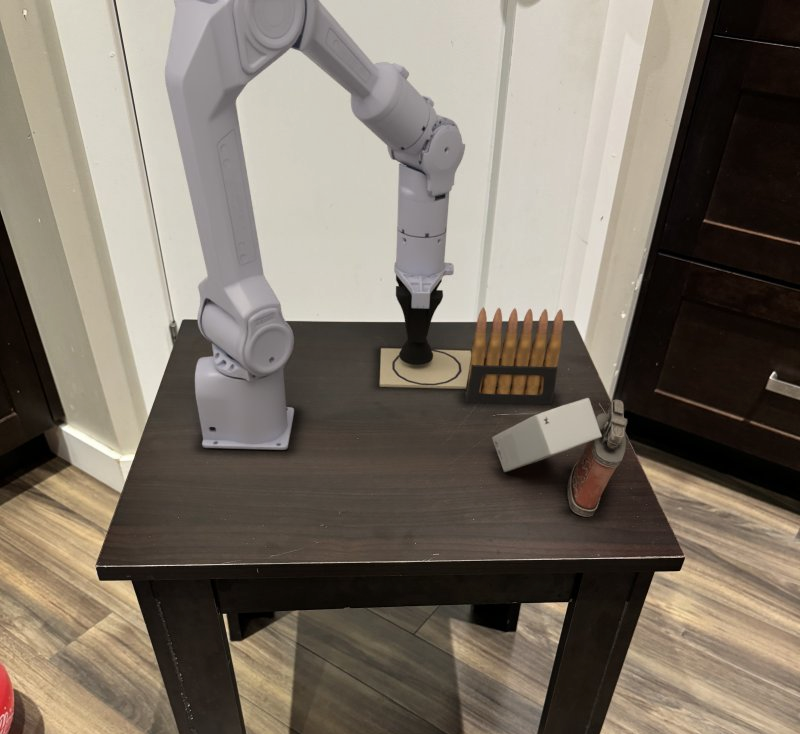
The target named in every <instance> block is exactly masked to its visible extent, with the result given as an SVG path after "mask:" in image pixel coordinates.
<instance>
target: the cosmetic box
mask: <svg viewBox="0 0 800 734" xmlns="http://www.w3.org/2000/svg"><path fill="white" fill-rule="evenodd" d="M596 418H597V416H596V413H595V411H594V408H593V406H592V403H591V400H590V398H589V397H585V398H582V399H579V400H576V401H572V402H570V403H566V404H562V405H560V406H557V407H554V408H551V409H549V410H546V411H542V412H540V413H537V414H535V415H532V416H530V417H528V418H526V419H525V420H523V421H521V422H519V423H517V424H515V425H513V426H511V427H509V428H507V429H505V430H503V431H500V432H499V433H498V434H496V435H493V436H492V437H491V439H492V443H493V445H494V447H495V450H496V454H497V456H498V458H499V462H500V465H501V467H502V470H503V472H504V473H507V472H511V471H514V470H516V469H520V468H522V467H525V466H528V465H531V464H534V463H537V462H540V461H542V460H545V459H548V458H551V457H554V456H556V455H559V454H561V453H564V452H567V451H569V450H572V449H575V448H577V447H579V446H582V445H585V444H587V442H590V441H593V440H595V439H598V438H600V437H602V435H601V432H600V429H599V427H598V423H597V420H596Z"/></svg>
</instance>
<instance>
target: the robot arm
mask: <svg viewBox="0 0 800 734" xmlns="http://www.w3.org/2000/svg"><path fill="white" fill-rule="evenodd" d="M173 2H174V7H175V11H174V16H173V22H172V27H171V32H170V39H169V44H168V50H167V56H166V61H165V68H164V81H165V87H166V91H167V96H168V101H169V104H170V110H171V114H172V120H173V122H174V129H175V134H176V138H177V142H178V147H179V151H180V157H181V160H182V165H183V170H184V174H185V178H186V183H187V188H188V193H189V198H190V201H191V206H192V210H193V215H194V219H195V224H196V228H197V233H198V237H199V242H200V247H201V252H202V256H203V260H204V265H205V269H206V274H207V276H206V277H205V278H203V280H201V281H200V283H198V285H197V289H198V294H199V307H198V311H197V327H198V329H199V332H200V333H201V334H202V336H203V337H204V338H205V339H206V340H207V341H209V342H210V343H211V346H212V347H211V348H212V353H213V355H211V356H203V357H200V358H198V360H197V362H196V366H195V371H194V372H195V373H194V392H195V400H196V405H197V411H198V417H199V423H200V429H201V435H202V443H201V446H202V447H203V448H205V449H229V450H230V449H234V450H235V449H237V450H271V451H272V450H275V451H286V450H287V449H288V448H289V443H290V437H291V433H292V427H293V421H294V415H295V408H293V407H290V406H287V400H286V386H285V375H284V369H285V365H286V364H287V362H288V361H289V360H290V357H291V356H292V353H293V350H294V344H295V338H294V337H295V336H294V331H293V329H292V327H291V326H290V325H289V323H288V322H287V321H286V319H285V317H284V316H283V312H282V306H281V302H280V300H279V298H278V297H277V295H276V293H275V292H274V290H273V288H272V286H271V285H270V284H269V282H268V280H267V278H266V276H265V274H264V268H263V263H262V262H263V261H262V256H261V249H260V244H259V243H260V242H259V237H258V232H257V231H258V230H257V225H256V219H255V214H254V213H255V212H254V207H253V200H252V195H251V188H250V183H249V176H248V170H247V163H246V158H245V153H244V145H243V140H242V134H241V127H240V120H239V116H238V115H239V114H238V109H237V99H238V97H239V96H240V94H241V93H242V92H243V90H244V89H245V87H246V86H247V85H248V83H250V82H251V81H252V80H254V79H255V78H256V77H257V76H259V75H260V74H261V73H263V72H264V71H265V70H266V69H268V68H269V67H270V66H271V65H272V64H273V63H275V62H276V61H277V60H279V59H280V58H281V57H282V56H284V55H285V54H286V53H287V52H288V51H289V50H290V49H292V50H296V51H298V52H301V53H302V54H303V55H304V56H305V57H306V58H308V59H309V60H310V61H311V62H312V63H314V64H315V65H316V66H317V67H318V68H320V69H321V70H322V71H323V72H324V73H325V74H326V75H328V76H329V77H330V78H331V79H332V80H334V81H335V82H336V83H337V84H339V86H341V87H342V88H343V89H344V90H345V91H347V92H348V93H349V94H350V109H351V111H352V113H353V116H354V117H355V118H356V119H358V120H359V121H360V122H361V123H362V124H363V125H364V126H365V127H366V128H367V129H369V130H370V131H371V132H372V133H373V134H374V135H375V136H376V137H377V138H378V139H379V140H381V142H383V143H384V144H385V145H386V146H387V152H388V155H389V157H390V159H391V160H393V161H397V162H398V163H399V164H398V185H397V187H398V188H397V222H396V224H397V225H396V254H395V259H396V260H395V262H394V265H393V266H394V267H393V269H394V274H395V281H396V283H397V285H396V286H395V297H396V300H397V301H398V304H399V305H400V309H401V311H402V314H403V318H404V324H405V332H406V337H407V338H408V341H409V342H420V343H424V342H425V340H426V339H427V337H428V334H429V330H430V328H431V322H432V320H433V317H434V314H435V312H436V310H437V309H438V307H439V306H440V304H441V303H442V301H443V298H444V291H443V289H438V288H439V286H440V285H441V283H442V281H443V278H444V276H452V275H454V272H455V271H454V270H455V265H454V264H453V263H452V262H445V258H446V243H447V229H448V220H449V219H448V217H449V216H448V215H449V204H450V192H451V191H452V189H453V186H455V176H456V173H457V170H458V168H459V166H460V165H461V163H462V161H463V158H464V154H465V150H466V143H464V142H463V137H462V134H461V132H460V129H459V126H458V124H457V123H456V122H455V121H454V120H453V119H451V118H448V117H446V116H442V115H440V114H437V111H436V110H435V108H434V106H435V102H434V101H433V100H432V99H431V97H429V96H427V95H422V94H421V93H420V92H419V91H418V90H417V89H416V88H415V87H414V86H413V85H412V83H410V82H409V80H408V77H409V76H410V72H409V71H408V70H407V68H406V67H405V66H403V65H401V64H398V63H396V62H395V63H394V62H393V63H390V62H387V61H380V62H375V63H373V62H372V60H371V59H370V58H369V56H367V54H366V53H365V52H364V51H363V50H362V49H361V47H360V46H359V44H357V43H356V42H355V40H354V39H353V38H352V36H350V35H349V33H348V32H347V31H346V30H345V29H344V28H343V26H342V25H341V24H340V23H339V21H337V20H336V19H335V17H334V16H333V14H331V12H330V11H329V10H328V9H327V8H326V6H324V4H323V3H322V1H320V0H173ZM407 338H406V339H407Z"/></svg>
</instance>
